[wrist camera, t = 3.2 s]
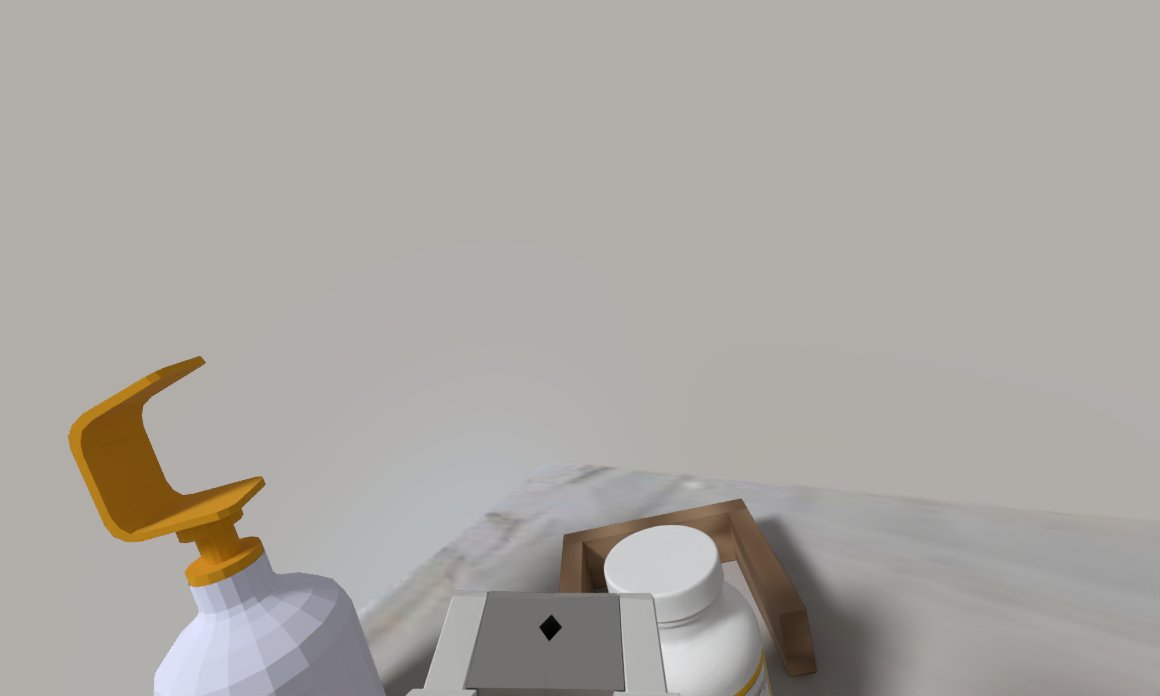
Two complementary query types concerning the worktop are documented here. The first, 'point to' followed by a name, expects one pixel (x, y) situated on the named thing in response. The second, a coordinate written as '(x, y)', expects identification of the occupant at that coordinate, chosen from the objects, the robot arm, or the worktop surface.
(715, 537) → the corral
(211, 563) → the soap bottle
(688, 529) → the supplement bottle
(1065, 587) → the worktop surface
